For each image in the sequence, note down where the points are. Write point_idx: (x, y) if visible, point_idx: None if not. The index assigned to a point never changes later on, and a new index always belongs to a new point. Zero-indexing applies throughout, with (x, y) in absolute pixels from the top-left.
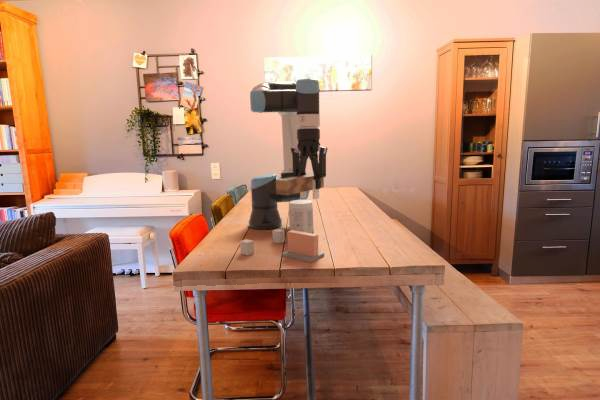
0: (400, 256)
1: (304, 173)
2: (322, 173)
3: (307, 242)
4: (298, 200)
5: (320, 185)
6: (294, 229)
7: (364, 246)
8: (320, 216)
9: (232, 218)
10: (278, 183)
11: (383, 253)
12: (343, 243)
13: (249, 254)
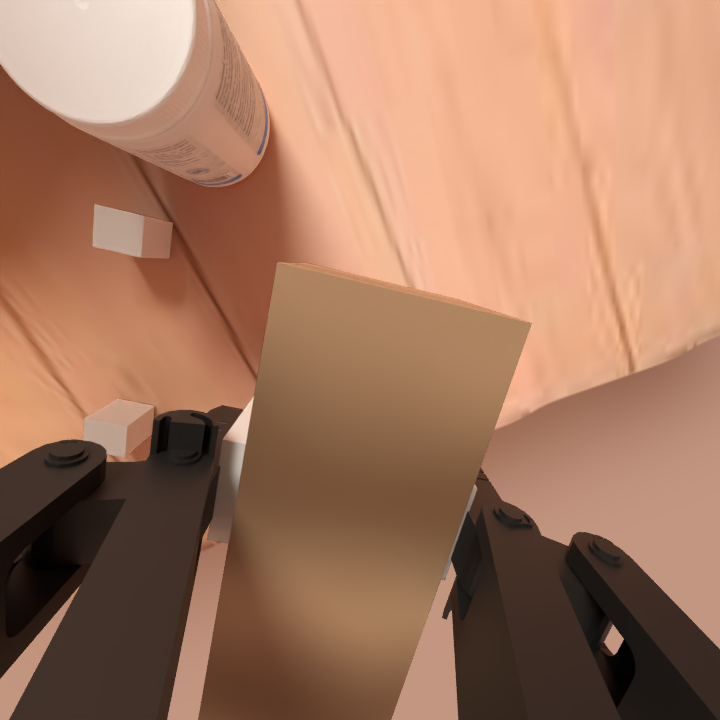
0: (674, 258)
1: (205, 504)
2: (621, 678)
3: None
4: None
5: (483, 479)
6: (184, 176)
7: (533, 174)
8: None
9: None
10: None
11: (614, 244)
12: (437, 159)
13: (152, 427)
